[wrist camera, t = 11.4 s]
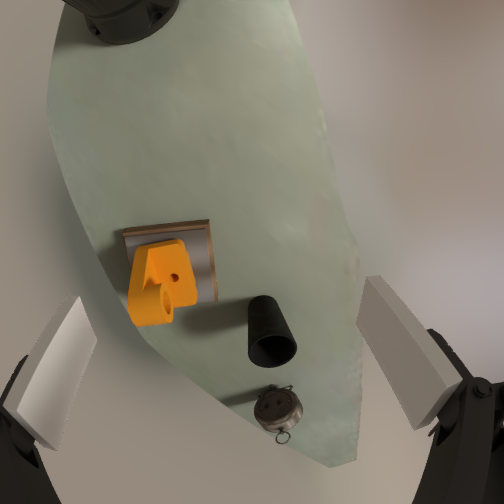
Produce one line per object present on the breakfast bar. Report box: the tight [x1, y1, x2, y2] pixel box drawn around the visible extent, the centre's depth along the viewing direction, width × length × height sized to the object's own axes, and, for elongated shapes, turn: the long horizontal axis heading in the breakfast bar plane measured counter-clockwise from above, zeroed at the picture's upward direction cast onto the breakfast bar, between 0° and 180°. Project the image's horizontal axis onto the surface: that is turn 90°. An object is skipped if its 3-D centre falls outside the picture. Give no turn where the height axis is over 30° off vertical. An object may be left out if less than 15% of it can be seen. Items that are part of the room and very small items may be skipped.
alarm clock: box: [254, 385, 303, 444], centre depth 57 cm, size 11×5×16 cm, turn 111°
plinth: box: [122, 219, 218, 303], centre depth 46 cm, size 14×14×3 cm
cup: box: [248, 295, 297, 368], centre depth 47 cm, size 8×8×12 cm
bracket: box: [127, 239, 198, 327], centre depth 39 cm, size 11×7×12 cm, turn 8°
